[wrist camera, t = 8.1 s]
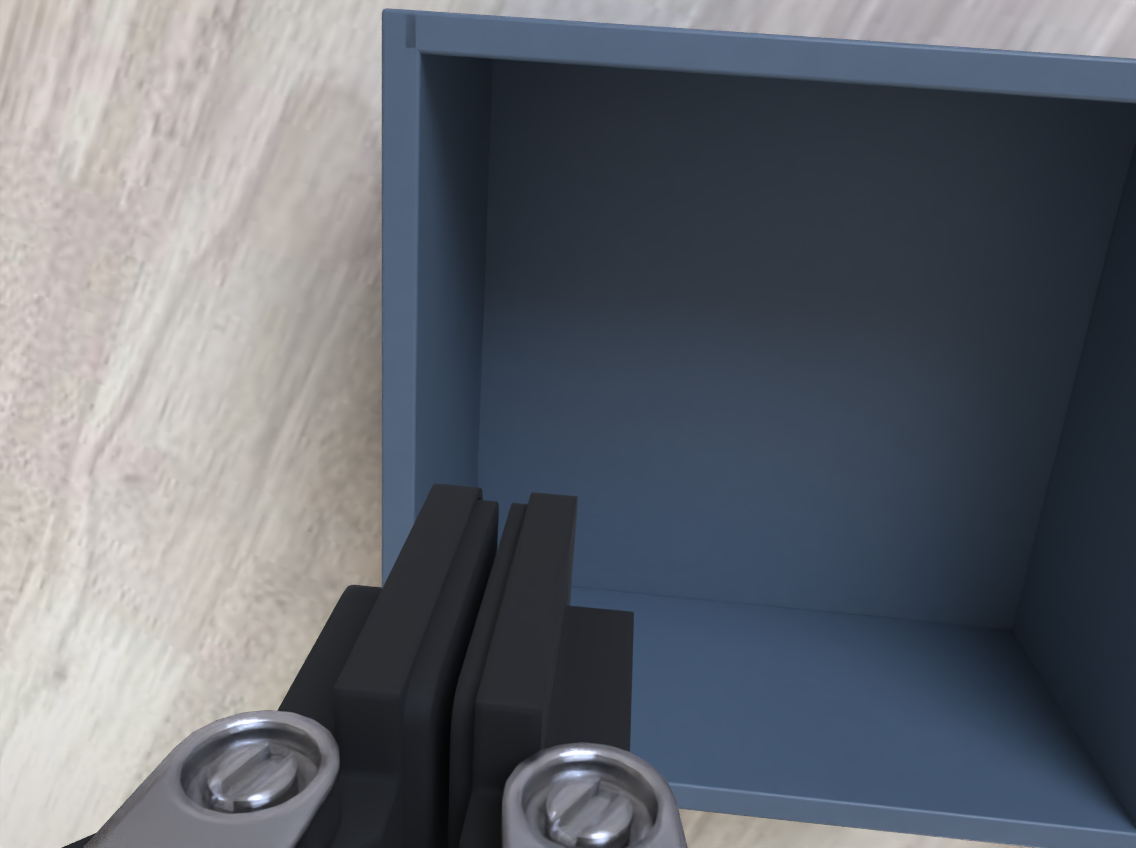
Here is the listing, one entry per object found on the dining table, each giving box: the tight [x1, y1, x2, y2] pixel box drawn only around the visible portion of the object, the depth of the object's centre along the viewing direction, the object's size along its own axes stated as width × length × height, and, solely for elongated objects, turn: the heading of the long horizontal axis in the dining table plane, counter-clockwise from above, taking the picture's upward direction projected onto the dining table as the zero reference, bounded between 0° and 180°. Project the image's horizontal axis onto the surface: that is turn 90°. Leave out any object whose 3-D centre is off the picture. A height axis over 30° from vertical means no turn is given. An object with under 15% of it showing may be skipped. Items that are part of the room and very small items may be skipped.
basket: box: [382, 8, 1136, 848], centre depth 21 cm, size 8×14×15 cm
